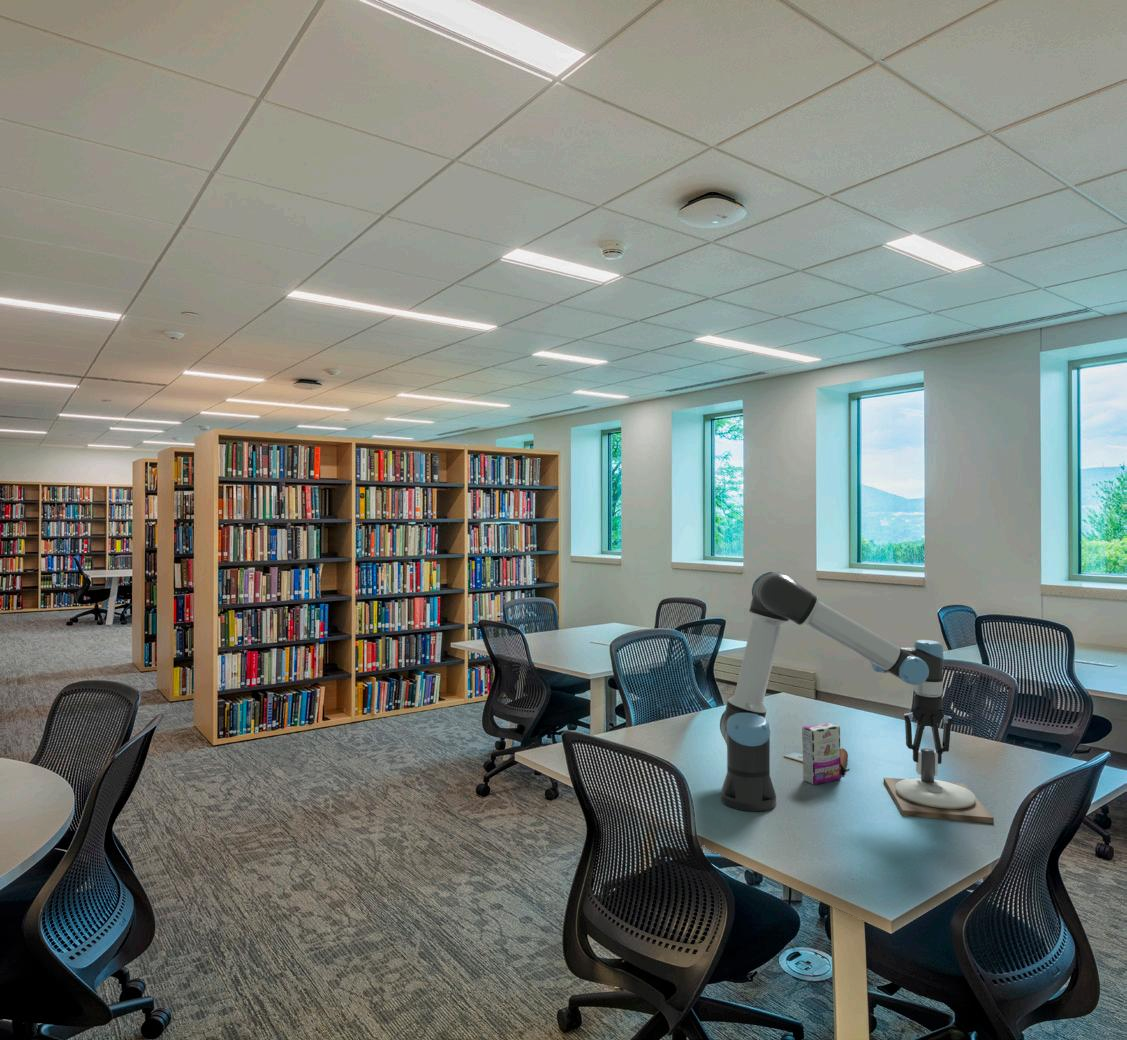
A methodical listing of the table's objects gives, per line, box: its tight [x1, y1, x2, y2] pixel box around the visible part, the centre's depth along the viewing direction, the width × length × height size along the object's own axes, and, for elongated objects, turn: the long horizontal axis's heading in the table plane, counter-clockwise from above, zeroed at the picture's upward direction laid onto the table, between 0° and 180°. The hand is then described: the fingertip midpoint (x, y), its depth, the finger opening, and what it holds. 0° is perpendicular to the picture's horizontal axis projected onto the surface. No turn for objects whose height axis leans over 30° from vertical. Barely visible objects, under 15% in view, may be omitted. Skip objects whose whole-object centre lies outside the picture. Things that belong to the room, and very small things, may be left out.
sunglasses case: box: [840, 747, 849, 776], centre depth 237 cm, size 18×7×7 cm, turn 156°
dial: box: [896, 747, 976, 809], centre depth 206 cm, size 20×20×10 cm
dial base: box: [883, 777, 995, 824], centre depth 206 cm, size 22×26×2 cm
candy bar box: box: [801, 722, 842, 786], centre depth 223 cm, size 11×5×16 cm, turn 115°
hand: (926, 773), depth 214 cm, fingers open, 4 cm apart
